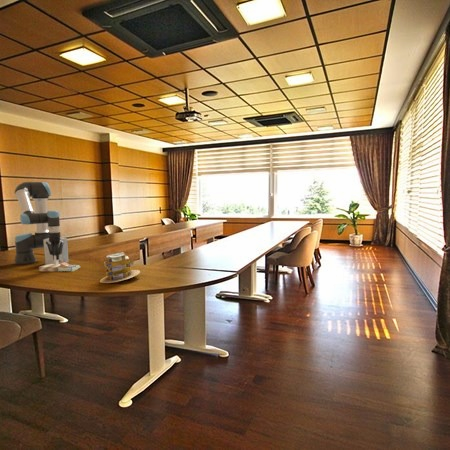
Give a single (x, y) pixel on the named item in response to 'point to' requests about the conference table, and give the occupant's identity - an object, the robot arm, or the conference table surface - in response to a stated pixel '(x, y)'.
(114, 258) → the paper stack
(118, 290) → the conference table surface
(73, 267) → the tray
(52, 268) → the board
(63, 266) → the terracotta tile
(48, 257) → the hard drive box
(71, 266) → the slate tile
